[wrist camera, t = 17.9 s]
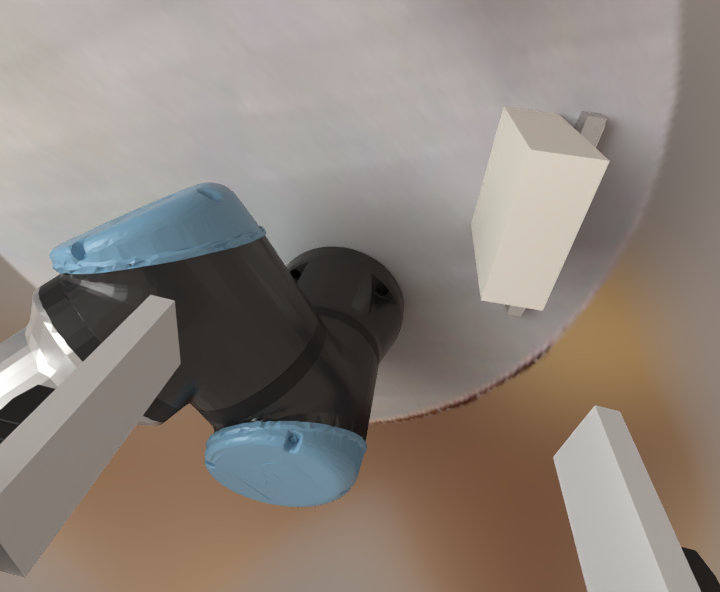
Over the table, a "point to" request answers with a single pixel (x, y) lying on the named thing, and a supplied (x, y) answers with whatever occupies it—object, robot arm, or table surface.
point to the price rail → (592, 131)
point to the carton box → (531, 205)
